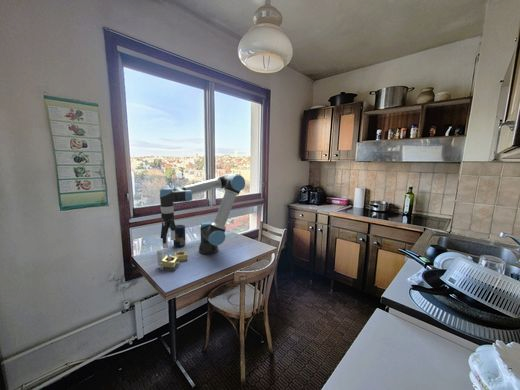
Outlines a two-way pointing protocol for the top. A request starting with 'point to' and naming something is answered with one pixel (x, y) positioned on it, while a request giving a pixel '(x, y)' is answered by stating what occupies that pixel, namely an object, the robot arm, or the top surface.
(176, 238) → the canister
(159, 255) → the keeper
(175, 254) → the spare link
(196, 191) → the robot arm
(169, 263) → the link
